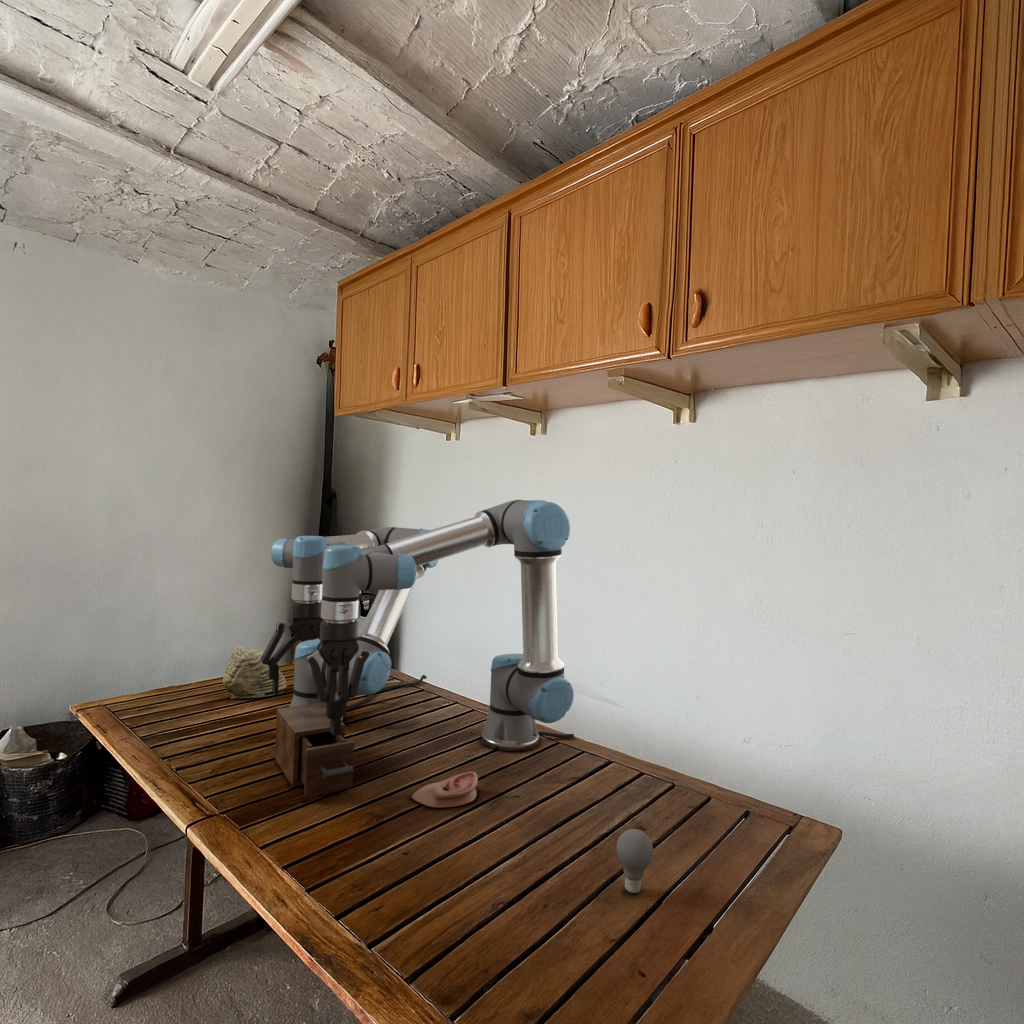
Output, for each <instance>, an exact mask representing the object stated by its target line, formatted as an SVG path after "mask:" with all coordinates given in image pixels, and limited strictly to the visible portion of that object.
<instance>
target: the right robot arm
mask: <svg viewBox="0 0 1024 1024" xmlns="http://www.w3.org/2000/svg"><path fill="white" fill-rule="evenodd" d="M429 530H430V531H426V532H423V533H420V534H416V535H413V536H410V537H406V538H403V539H400V540H396V541H393V542H390V543H386V544H384V545H380V546H376V547H373V548H360V547H359V546H354V545H330V546H328V547H326V548H325V550H324V557H323V566H322V569H323V573H322V603H321V618H322V619H323V621H322V622H321V626H320V643H319V645H318V647H317V651H316V652H314V653H313V654H311V655H307V656H306V660H307V661H308V663H309V664H310V666H311V670H312V675H313V679H314V684H315V689H316V694H317V698H318V699H319V700H320V701H321V702H326V717H327V718H328V719H330V732H331V733H332V735H333V736H336V735H341V717H343V718H345V717H346V715H347V709H346V705H347V704H348V703H349V700H351V699H355V698H356V696H357V694H356V693H357V689H358V685H359V682H360V678H361V674H362V671H363V667H364V663H365V662H366V660H367V658H368V657H369V652H367V651H366V650H364V649H361V648H359V643H358V641H357V638H358V634H359V621H357V619H358V618H359V607H360V593H361V592H362V591H365V592H366V591H379V590H399V589H408V588H411V587H412V586H413V585H415V583H416V581H417V579H416V567H418V566H421V565H424V564H427V563H430V562H433V561H436V560H438V561H439V560H442V559H445V558H448V557H452V556H454V555H458V554H461V553H463V552H467V551H470V550H473V549H476V548H479V547H482V546H484V547H486V548H492V547H495V546H500V545H513V548H514V549H513V553H514V555H513V556H514V558H515V559H516V560H517V561H518V562H519V564H520V583H521V585H520V586H521V621H522V622H521V623H522V625H521V626H522V627H521V628H522V653H503V654H498V655H496V656H494V657H493V658H492V660H491V667H490V693H489V712H488V714H487V717H486V720H485V723H484V725H483V728H482V731H481V742H482V743H483V744H484V746H487V747H488V748H491V749H494V750H496V751H497V750H498V751H504V752H522V751H527V750H528V751H529V750H530V749H534V748H535V747H537V745H539V740H540V737H539V736H545V737H553V738H558V739H559V738H560V739H571V738H572V739H573V738H575V734H574V733H556V732H550V731H549V732H548V731H540V730H538V726H537V723H536V721H538V722H541V723H543V724H553V723H556V722H558V721H560V720H561V719H562V718H564V717H565V716H566V714H567V712H569V711H570V709H571V708H572V706H573V702H574V698H575V690H574V687H573V685H572V684H571V683H570V681H569V679H567V678H565V663H564V662H563V661H562V659H560V658H559V654H558V653H559V651H558V650H559V649H558V647H559V646H558V644H559V643H558V608H557V607H558V606H557V605H558V604H557V569H556V568H557V565H556V563H557V561H558V560H559V559H560V558H561V557H562V553H563V552H562V548H563V547H564V546H565V545H566V543H567V542H566V541H568V540H569V538H570V534H571V524H570V518H569V516H568V515H567V513H566V511H565V510H564V509H563V508H562V506H560V505H559V504H557V503H555V502H552V501H547V500H543V499H542V500H541V499H538V500H537V499H536V500H535V499H534V500H532V499H530V500H529V499H528V500H526V499H514V500H509V501H507V502H503V503H500V504H497V505H494V506H491V507H489V508H486V509H483V510H480V511H477V512H476V513H475V515H474V516H473V517H470V518H467V519H462V520H460V521H456V522H453V523H450V524H447V525H444V526H440V527H436V528H433V529H429ZM415 580H416V581H415ZM414 582H415V583H414ZM413 587H414V586H413ZM360 591H361V592H360ZM355 654H356V660H355V663H354V666H353V670H352V674H351V678H350V681H349V685H348V670H349V663H350V661H351V660H352V658H353V657H354V655H355ZM320 655H321V657H322V658H323V659H324V661H325V662H326V667H327V680H326V694H325V689H324V685H323V680H322V675H321V670H320V667H319V664H318V663H319V662H320V658H319V657H320ZM337 665H339V685H338V690H337V695H338V699H339V700H335V689H336V671H337Z"/></svg>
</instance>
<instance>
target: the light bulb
mask: <svg viewBox="0 0 1024 1024" xmlns="http://www.w3.org/2000/svg"><path fill="white" fill-rule="evenodd" d="M615 849H616V854H617V857H618V859H619V861H620V863H621V865H622V867H623V873H624V874H623V875H624V876H625V878H624V888H625V890H627V891H628V892H630V893H634V894H635V893H639V892H640V891H641V889H642V887H641V886H642V879H643V877H644V875H645V871H646V868H647V867H648V866H649V864H650V863H651V861H652V859H653V855H654V847H653V843H652V841H651V838H649V836H648V835H647V834H646V833H645V832H643V831H642V830H641V829H636V828H629V829H627V830H625V831H623V832H622V833H621V834H620V835H619V837H618V839H617V841H616V847H615Z"/></svg>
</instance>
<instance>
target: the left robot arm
mask: <svg viewBox="0 0 1024 1024" xmlns="http://www.w3.org/2000/svg"><path fill="white" fill-rule="evenodd" d="M430 530H431V529H425V528H421V527H420V528H409V527H397V526H386V527H379V528H372V529H366V530H360V531H358V532H357V533H356V534H345V535H334V536H333V535H332V536H323V535H321V536H320V535H299V536H297V537H295V538H289V537H287V538H278V539H277V540H276V541H274V543H273V545H272V546H271V549H270V559H271V561H272V563H273V564H274V565H275V566H277V567H280V568H284V569H292V581H291V600H292V602H291V605H290V620H289V622H281V621H277V622H276V625H275V629H274V630H275V631H274V633H273V635H272V637H271V639H269V642H268V644H267V646H266V648H265V649H264V653H263V655H262V657H261V659H260V661H261V662H262V663H263V664H266V665H268V666H269V669H268V677H269V679H270V680H273V682H272V692H273V693H274V694H276V695H279V694H278V684H279V670H280V665H279V664H278V663H279V662H280V660H281V659H282V658H283V657H284V656H285V655H286V654H287V652H289V650H290V649H291V648H292V646H293V645H294V644H296V643H297V642H298V640H299V641H300V642H299V643H298V644H297V645H296V647H295V652H294V653H295V654H294V657H293V660H294V661H293V662H294V663H293V664H294V668H293V695H292V696H293V697H292V699H291V702H290V704H289V707H294V706H302V705H309V704H316V703H324V704H325V705H326V702H321V701H320V700H319V699H318V698H317V694H316V689H315V684H314V679H313V675H312V670H311V666H310V664H309V663H308V661H307V660H306V656H307V655H311V654H313V653H314V652H316V651H317V647H318V645H319V643H320V626H321V622H322V621H323V619H322V618H321V603H322V573H323V569H322V566H323V557H324V550H325V548H326V547H328V546H330V545H354V546H359V547H360V548H373V547H376V546H380V545H384V544H386V543H390V542H393V541H396V540H400V539H403V538H406V537H410V536H413V535H416V534H420V533H423V532H426V531H430ZM438 562H439V560H436V561H433V562H430V563H427V564H424V565H421V566H418V567H416V580H415V582H414V585H415V583H416V581H417V579H420V578H423V577H424V575H425V573H426V572H427V571H426V570H427V568H429V569H431V568H435V567H436V566H437V564H438ZM414 585H413V586H412V587H411V588H408V589H399V590H378V592H377V594H376V597H375V599H374V601H373V603H372V604H371V607H370V609H369V610H368V613H367V615H366V617H365V619H364V622H363V624H362V625H361V628H360V630H359V631H358V638H357V641H358V643H359V648H361V649H364V650H366V651H367V652H369V657H368V658H367V660H366V662H365V663H364V667H363V671H362V674H361V678H360V682H359V685H358V689H357V693H356V696H361V695H363V696H364V695H365V696H366V697H365V698H362V699H361V700H359V701H355V702H354V703H351V704H346V710H348V709H352V708H355V707H357V706H360V705H362V704H364V703H366V702H367V701H369V700H370V699H371V698H372V697H373V696H374V695H375V694H377V693H379V692H383V691H387V690H391V689H396V688H397V689H398V688H403V687H411V686H417V685H419V684H421V683H422V682H423V681H424V680H427V679H428V678H427V675H425V674H422V675H421V676H420V679H419V680H417V681H414V682H408V683H397V684H393V685H388V686H385V685H386V683H387V682H388V680H389V678H390V675H391V671H392V670H391V668H392V659H391V656H390V650H389V648H388V644H389V642H390V640H391V637H392V635H393V633H394V631H395V628H396V626H397V624H398V622H399V619H400V617H401V615H402V612H403V610H404V608H405V606H406V603H407V601H408V599H409V597H410V595H411V592H412V590H413V588H414ZM288 629H289V630H290V634H289V635H288V636H287V638H286V639H285V641H284V642H283V643H282V644H281V645H280V646H279V648H278V649H277V650H276V648H277V647H278V644H279V642H280V641H281V639H282V637H283V633H285V632H286V631H287V630H288ZM275 650H276V651H275ZM319 658H320V662H319V663H318V664H319V667H320V670H321V675H322V680H323V685H324V689H325V694H326V680H327V667H326V662H325V661H324V659H323V658H322V657H321V655H320V657H319ZM355 660H356V654H355V655H354V657H353V658H352V660H351V661H350V663H349V670H348V685H349V681H350V678H351V674H352V670H353V666H354V663H355ZM338 685H339V665H337V671H336V689H335V700H339V698H338ZM341 721H342V722H343V723H344V717H341Z"/></svg>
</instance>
